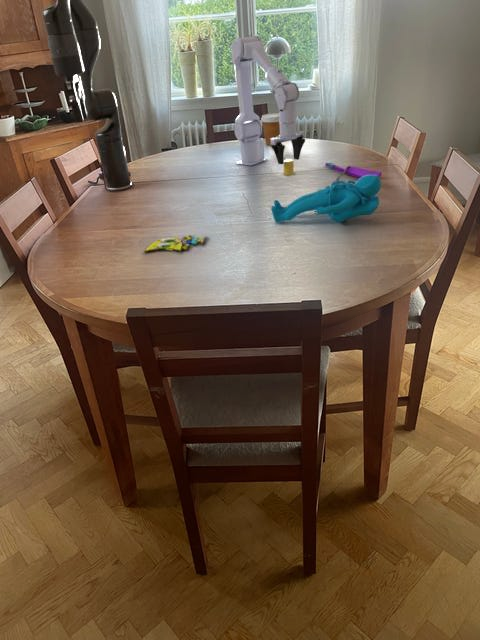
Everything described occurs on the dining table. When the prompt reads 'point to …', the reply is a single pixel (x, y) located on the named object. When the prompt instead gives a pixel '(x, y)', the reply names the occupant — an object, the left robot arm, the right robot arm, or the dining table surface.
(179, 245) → the toy
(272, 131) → the disposable coffee cup
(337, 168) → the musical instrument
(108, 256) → the dining table surface
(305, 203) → the toy
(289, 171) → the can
